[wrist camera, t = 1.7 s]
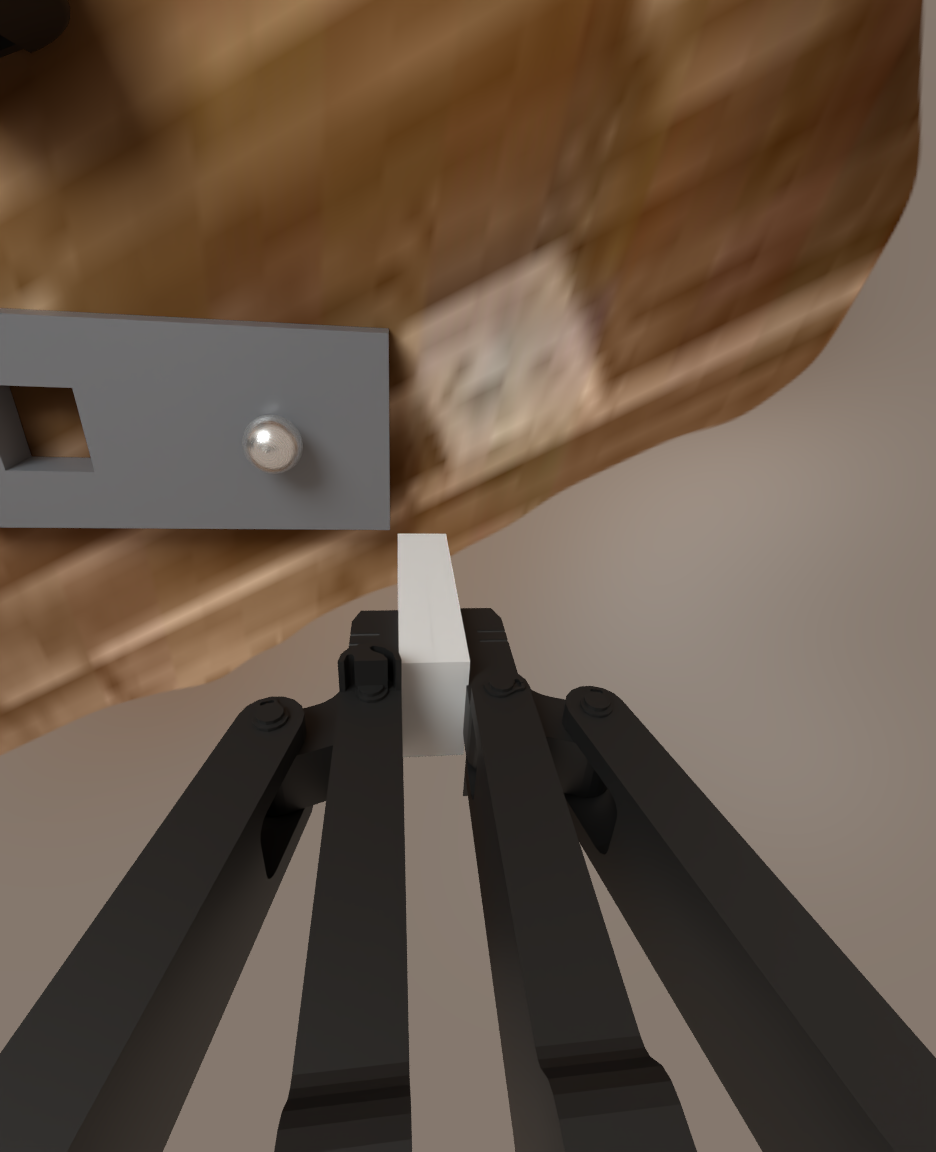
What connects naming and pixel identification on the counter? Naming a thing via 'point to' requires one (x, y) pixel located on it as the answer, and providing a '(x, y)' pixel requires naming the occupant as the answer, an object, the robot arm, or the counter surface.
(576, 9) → the counter surface
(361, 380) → the hole plate
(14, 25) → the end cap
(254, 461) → the steel ball
